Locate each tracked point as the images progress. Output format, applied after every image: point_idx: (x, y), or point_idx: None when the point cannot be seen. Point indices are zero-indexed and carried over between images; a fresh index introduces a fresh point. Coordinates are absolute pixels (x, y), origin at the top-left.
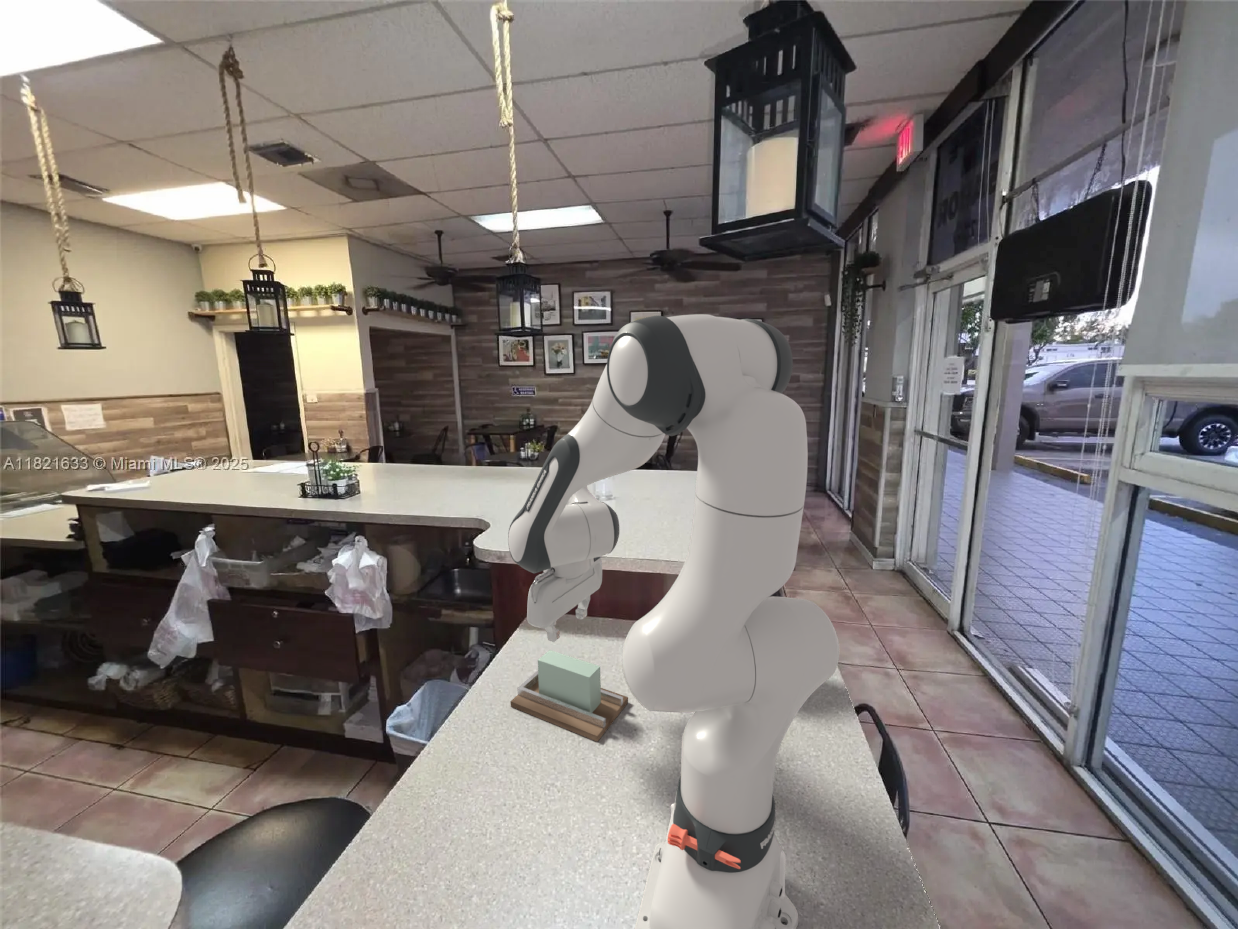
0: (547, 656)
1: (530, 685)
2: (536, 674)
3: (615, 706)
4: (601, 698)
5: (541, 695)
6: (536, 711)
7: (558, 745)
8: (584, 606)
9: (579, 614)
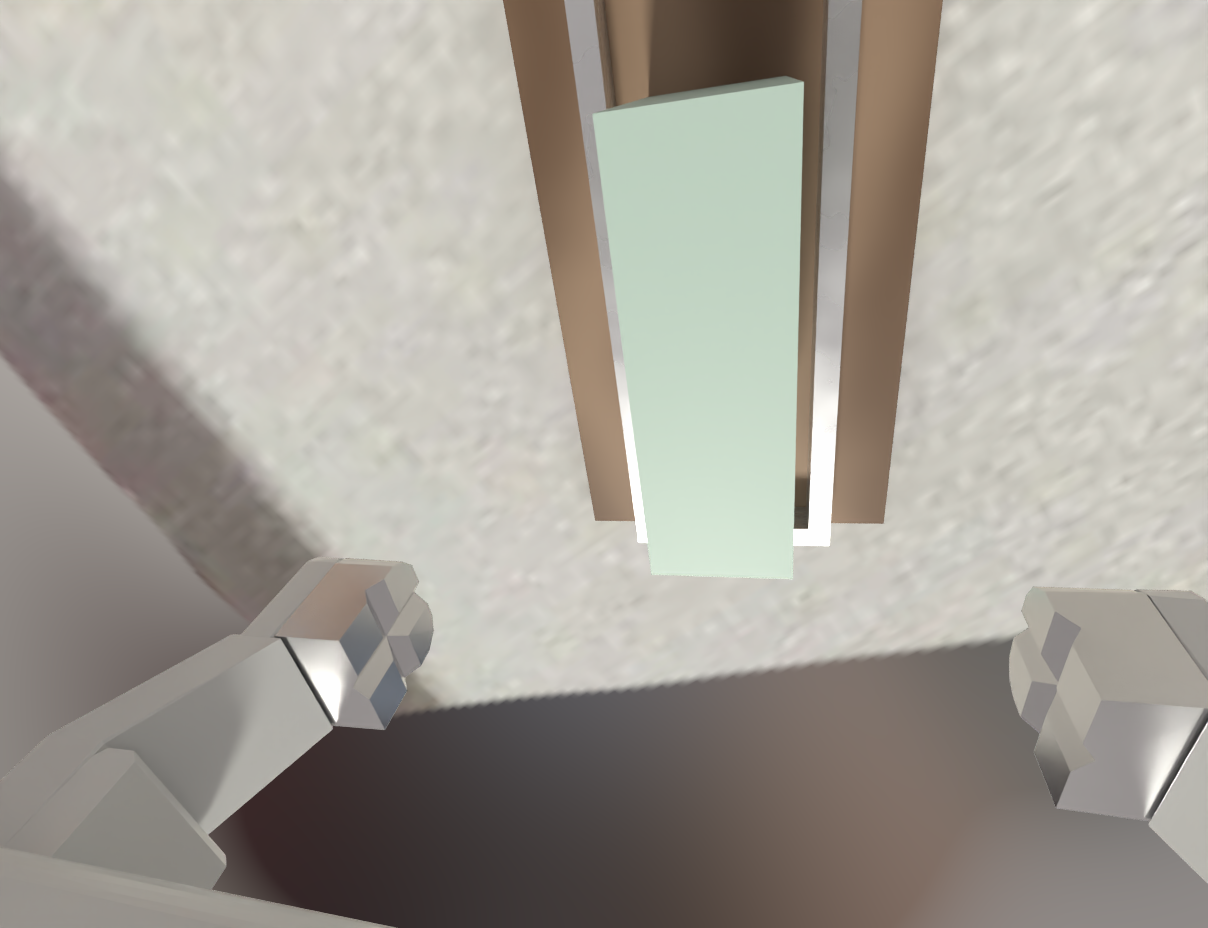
0: (722, 550)
1: None
2: None
3: None
4: None
5: (823, 418)
6: (898, 378)
7: (1066, 103)
8: (245, 691)
9: (387, 641)
